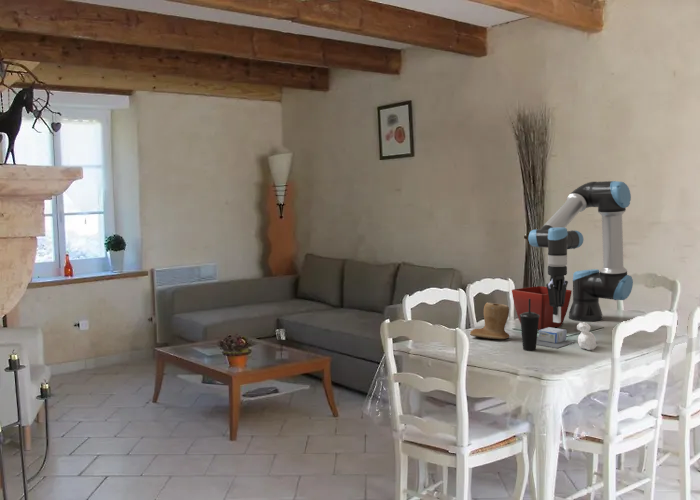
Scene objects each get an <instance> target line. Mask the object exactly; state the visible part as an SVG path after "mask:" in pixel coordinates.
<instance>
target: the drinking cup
mask: <svg viewBox="0 0 700 500" xmlns="http://www.w3.org/2000/svg"><path fill="white" fill-rule="evenodd" d="M530 305H531V299H529V312H524V313H522V314H520V315H519V316H520V320H521V323H520V330H521V337H522V338H521V340H522V341H521V343H522V350H523V351H528V352H533V351H536V350H537V345H536V343H537V337H538V333H539V329H538V322H539V317H540V315H539V314H536V313H534V312H530Z"/></svg>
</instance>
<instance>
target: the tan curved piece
mask: <svg viewBox="0 0 700 500" xmlns="http://www.w3.org/2000/svg"><path fill="white" fill-rule="evenodd" d="M509 314H510V308H509V305H506V304H502V303H494V302H486V303H485V304H484V306H483V318H484V319H483V320H484V326H483V327H481V328H473V329H472V330H471V331H470V332H469V334H470V336H472V337H476V338H480V339H488V340H489V339H490V340H505V339H509V338H510V334H509V333H508V332H506V331H505V328H506V324H507V322H508V318H509Z"/></svg>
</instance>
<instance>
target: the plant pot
mask: <svg viewBox="0 0 700 500" xmlns="http://www.w3.org/2000/svg"><path fill="white" fill-rule="evenodd" d="M572 293H573V290H571V289H566V295H565V302H564V304H562V305H564V306H563V307H562V306H561V323H556V322H553V307H552V306H550V304H549V296H548V289H547V286H542V285H541V286H540V285H539V286H537V285H536V286H531V287H529V286H528V287H522V288H521V287H519V288H515V289H511V295H512V300H513V305H514V308H515V311H516V314H517V317H518V321H519V323H520V324H521V320H520V316H519V315H520V314H522V313H524V312H529V299H531V305H530V312H534V313H536V314H539V315H540V317H539V322H538V331H539V330H541V329H545V328H548V327H551V328H555V327H558V328H561V327H562V325H563V324H564V320H565V318H566V314H567V313H568V310H569V306H570V302H571V298H572V297H571V296H572Z"/></svg>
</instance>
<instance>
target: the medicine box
mask: <svg viewBox="0 0 700 500" xmlns="http://www.w3.org/2000/svg"><path fill="white" fill-rule="evenodd" d="M538 336H539V340H540V341H545V342H551V343H558V342H561V341H564V340H566V341H567V329H565V328H564V329H563V328H559V327H558V328H551V327H548V328H545V329H541V330H539V329H538Z"/></svg>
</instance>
